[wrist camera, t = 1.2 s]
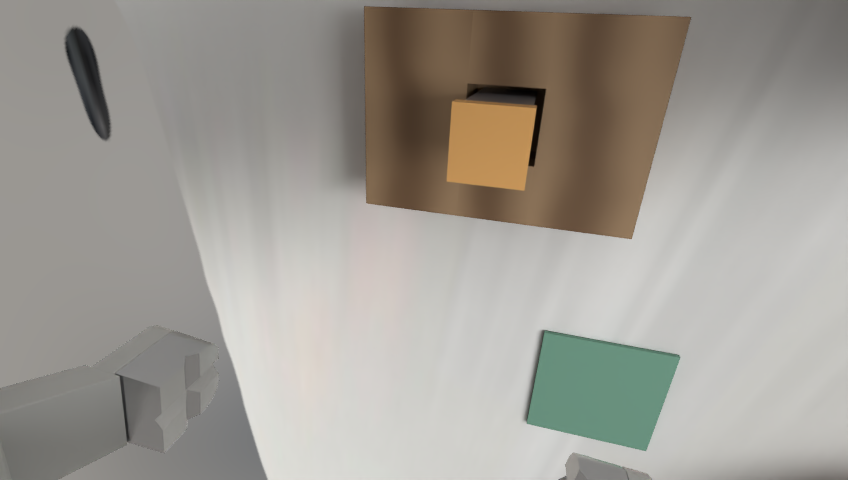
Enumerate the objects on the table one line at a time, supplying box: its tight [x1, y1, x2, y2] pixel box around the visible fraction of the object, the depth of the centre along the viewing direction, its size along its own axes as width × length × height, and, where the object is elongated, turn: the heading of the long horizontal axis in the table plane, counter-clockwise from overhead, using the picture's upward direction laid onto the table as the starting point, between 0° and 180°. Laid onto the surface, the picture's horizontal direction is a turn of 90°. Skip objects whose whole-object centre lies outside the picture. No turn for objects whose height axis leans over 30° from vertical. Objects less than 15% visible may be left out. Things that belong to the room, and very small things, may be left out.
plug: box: [447, 87, 537, 191], centre depth 29 cm, size 4×4×12 cm
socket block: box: [364, 6, 691, 239], centre depth 32 cm, size 20×14×6 cm
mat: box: [527, 331, 680, 451], centre depth 43 cm, size 12×12×1 cm
